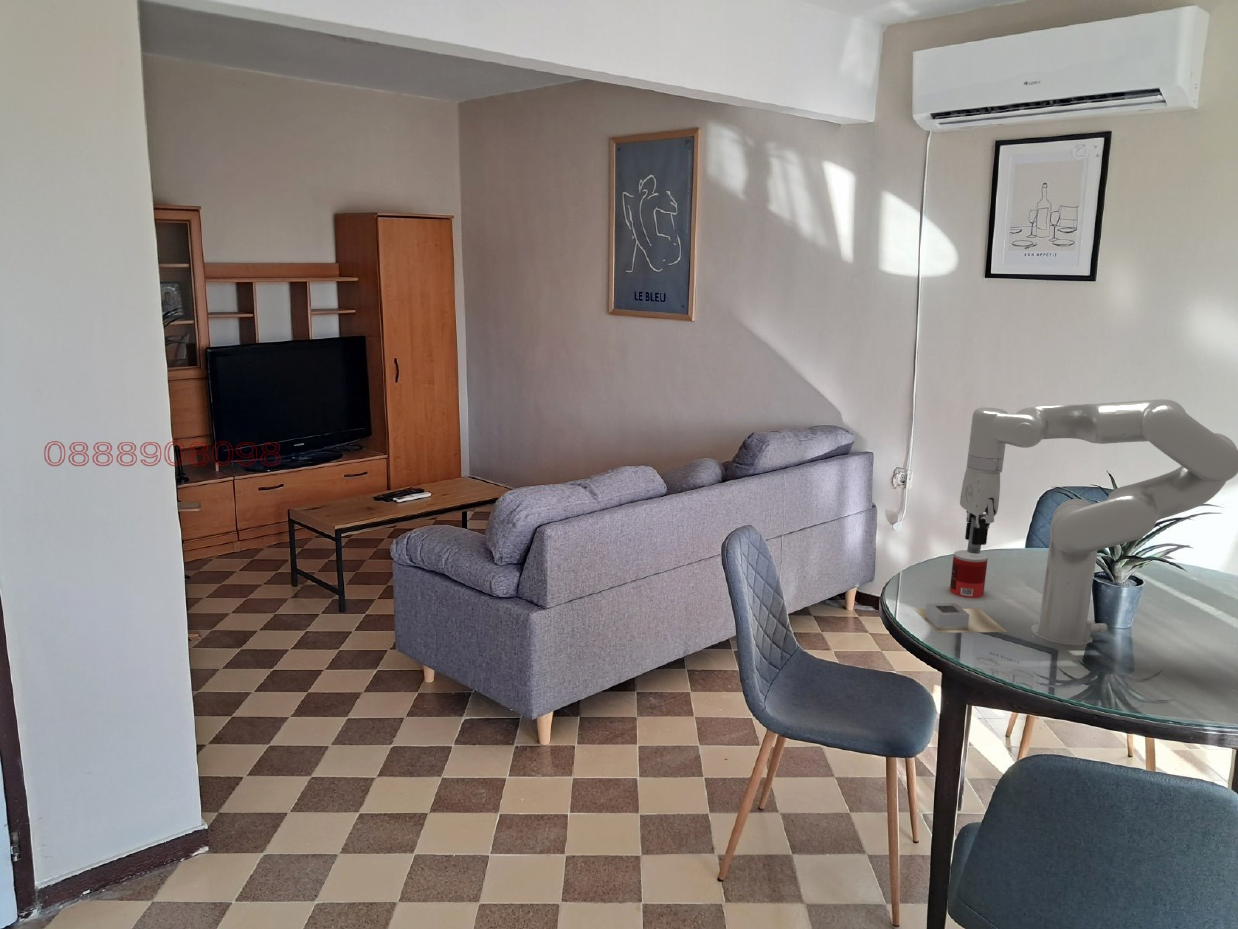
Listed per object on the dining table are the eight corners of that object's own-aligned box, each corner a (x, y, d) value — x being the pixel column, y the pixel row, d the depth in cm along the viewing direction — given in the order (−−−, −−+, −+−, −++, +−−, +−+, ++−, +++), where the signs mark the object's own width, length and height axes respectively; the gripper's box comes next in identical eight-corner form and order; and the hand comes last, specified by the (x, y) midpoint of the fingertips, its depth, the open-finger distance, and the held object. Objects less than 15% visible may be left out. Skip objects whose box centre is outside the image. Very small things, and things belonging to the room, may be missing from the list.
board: (978, 613, 226) (978, 608, 226) (1006, 636, 212) (1007, 631, 212) (913, 614, 225) (913, 609, 224) (937, 637, 211) (938, 632, 211)
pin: (976, 550, 219) (981, 516, 217) (982, 554, 216) (987, 520, 215) (965, 549, 219) (969, 516, 217) (970, 553, 216) (975, 519, 214)
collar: (954, 617, 220) (955, 603, 219) (967, 629, 213) (969, 614, 212) (924, 618, 219) (926, 603, 218) (937, 629, 212) (939, 615, 211)
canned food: (989, 600, 235) (994, 557, 232) (963, 604, 232) (968, 561, 230) (968, 590, 242) (972, 548, 239) (942, 593, 239) (947, 551, 237)
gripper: (953, 455, 221) (945, 531, 225) (984, 471, 205) (974, 553, 209) (985, 455, 221) (976, 531, 225) (1018, 472, 205) (1007, 553, 209)
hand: (975, 541), depth 217 cm, fingers closed on pin, 2 cm apart
